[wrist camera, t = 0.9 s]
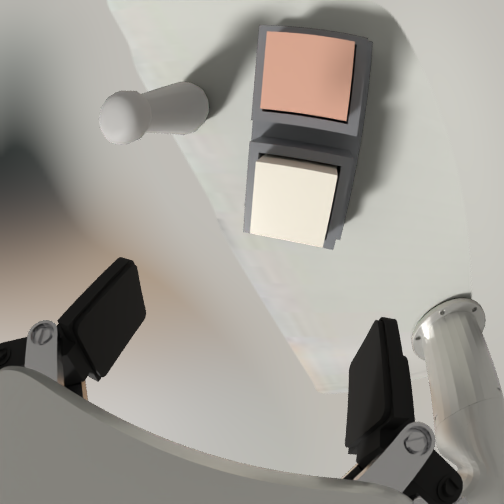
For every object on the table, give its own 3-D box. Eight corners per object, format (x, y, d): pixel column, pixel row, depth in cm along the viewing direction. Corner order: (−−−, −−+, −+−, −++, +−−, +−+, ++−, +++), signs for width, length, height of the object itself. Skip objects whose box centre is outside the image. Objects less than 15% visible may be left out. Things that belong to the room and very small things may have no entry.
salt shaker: (209, 75, 25) (133, 67, 14) (223, 123, 28) (154, 142, 17) (164, 93, 27) (80, 102, 16) (177, 137, 30) (99, 166, 19)
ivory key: (324, 229, 25) (322, 247, 22) (259, 216, 26) (249, 233, 23) (336, 165, 22) (337, 175, 19) (265, 153, 23) (255, 161, 20)
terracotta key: (343, 118, 20) (346, 121, 17) (270, 107, 21) (260, 108, 18) (351, 50, 16) (354, 41, 13) (276, 41, 17) (266, 31, 15)
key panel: (339, 227, 30) (340, 260, 24) (252, 210, 32) (233, 238, 26) (368, 47, 20) (380, 31, 14) (267, 34, 21) (248, 15, 16)
